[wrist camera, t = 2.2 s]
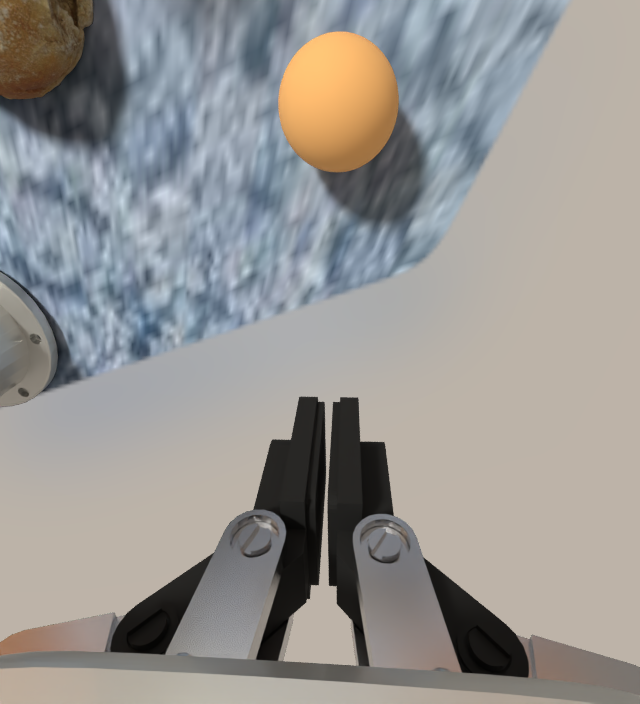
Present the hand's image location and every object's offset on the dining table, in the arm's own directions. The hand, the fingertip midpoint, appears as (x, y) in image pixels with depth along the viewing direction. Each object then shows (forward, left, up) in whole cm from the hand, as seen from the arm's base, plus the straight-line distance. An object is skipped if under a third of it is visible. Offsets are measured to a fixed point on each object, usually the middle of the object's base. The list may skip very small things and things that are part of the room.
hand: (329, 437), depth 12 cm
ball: (0, +9, -14) cm, 17 cm away
